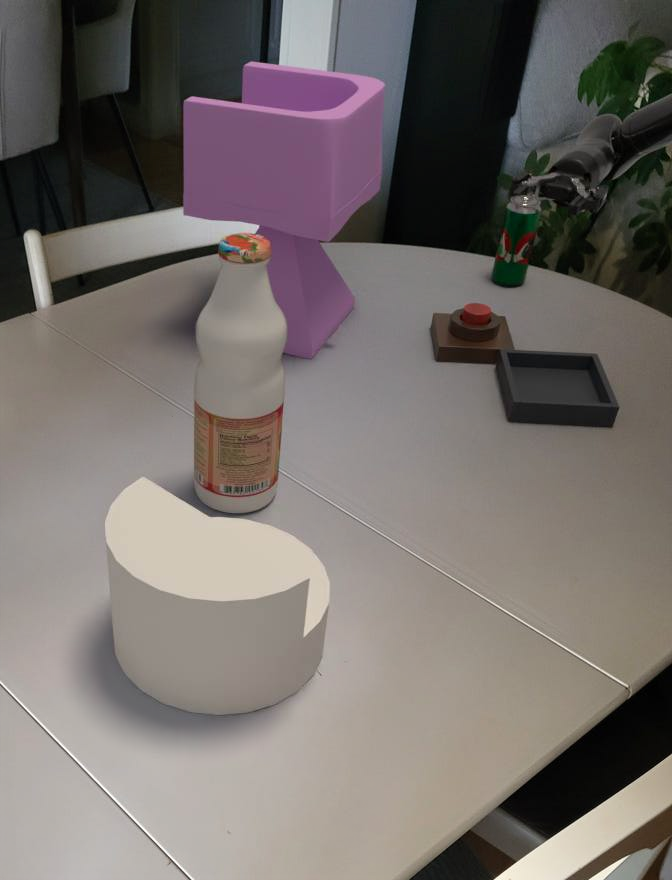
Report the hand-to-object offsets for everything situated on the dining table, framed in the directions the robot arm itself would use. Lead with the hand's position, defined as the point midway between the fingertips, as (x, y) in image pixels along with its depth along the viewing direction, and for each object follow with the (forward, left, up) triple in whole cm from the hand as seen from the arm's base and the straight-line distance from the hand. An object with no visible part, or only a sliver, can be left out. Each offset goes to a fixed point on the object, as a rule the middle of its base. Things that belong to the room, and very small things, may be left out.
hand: (543, 205), depth 151 cm
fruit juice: (+43, +69, -8) cm, 82 cm away
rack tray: (+4, +44, -8) cm, 45 cm away
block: (+13, +31, -8) cm, 35 cm away
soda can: (+5, +9, -8) cm, 13 cm away
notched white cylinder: (+43, +93, -8) cm, 103 cm away
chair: (+40, +26, -8) cm, 48 cm away
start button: (+13, +31, -5) cm, 34 cm away
